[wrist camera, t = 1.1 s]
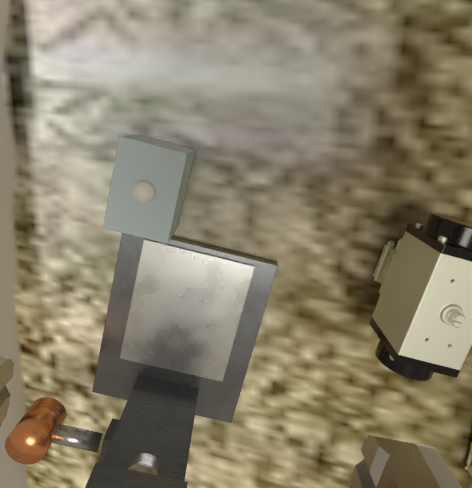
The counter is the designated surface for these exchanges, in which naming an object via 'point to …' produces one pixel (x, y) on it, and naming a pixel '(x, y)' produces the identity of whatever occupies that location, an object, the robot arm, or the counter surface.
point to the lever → (47, 433)
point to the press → (174, 352)
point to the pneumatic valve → (425, 299)
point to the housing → (148, 187)
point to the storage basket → (469, 461)
